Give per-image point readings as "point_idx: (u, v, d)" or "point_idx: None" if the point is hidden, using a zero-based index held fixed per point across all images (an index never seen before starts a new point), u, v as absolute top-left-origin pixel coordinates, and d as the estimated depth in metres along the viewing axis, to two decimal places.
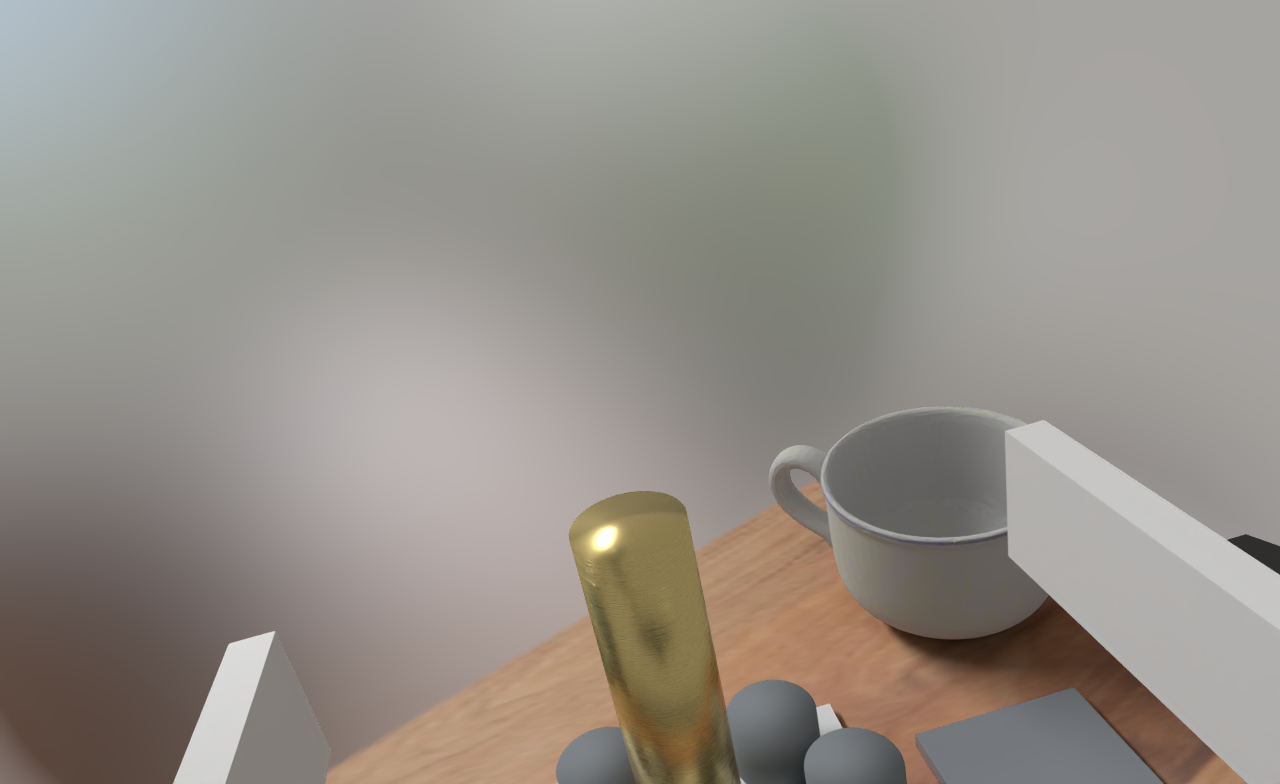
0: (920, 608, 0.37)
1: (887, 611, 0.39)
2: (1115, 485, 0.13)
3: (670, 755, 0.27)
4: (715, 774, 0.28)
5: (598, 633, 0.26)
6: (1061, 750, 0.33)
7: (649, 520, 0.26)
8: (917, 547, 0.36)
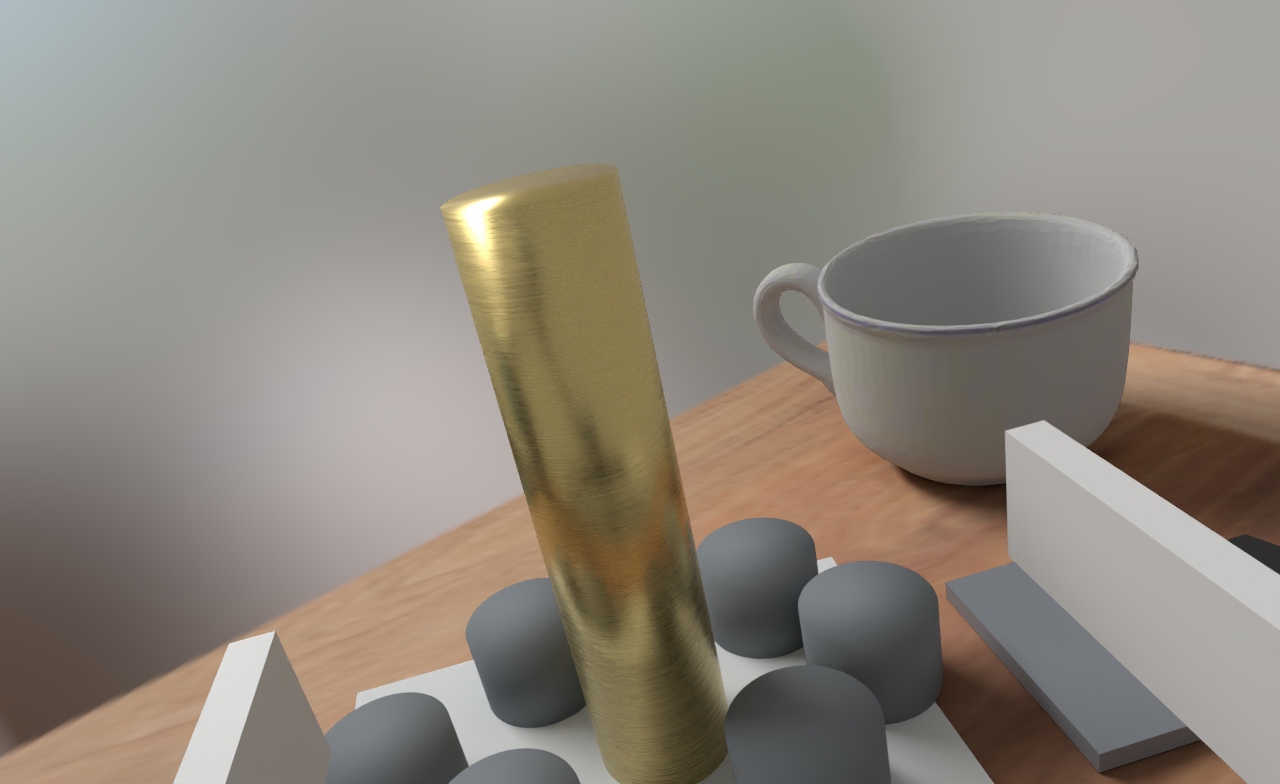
0: (948, 432, 0.29)
1: (903, 445, 0.30)
2: (1115, 485, 0.13)
3: (600, 550, 0.19)
4: (669, 588, 0.20)
5: (489, 359, 0.18)
6: None
7: (561, 180, 0.17)
8: (945, 340, 0.27)
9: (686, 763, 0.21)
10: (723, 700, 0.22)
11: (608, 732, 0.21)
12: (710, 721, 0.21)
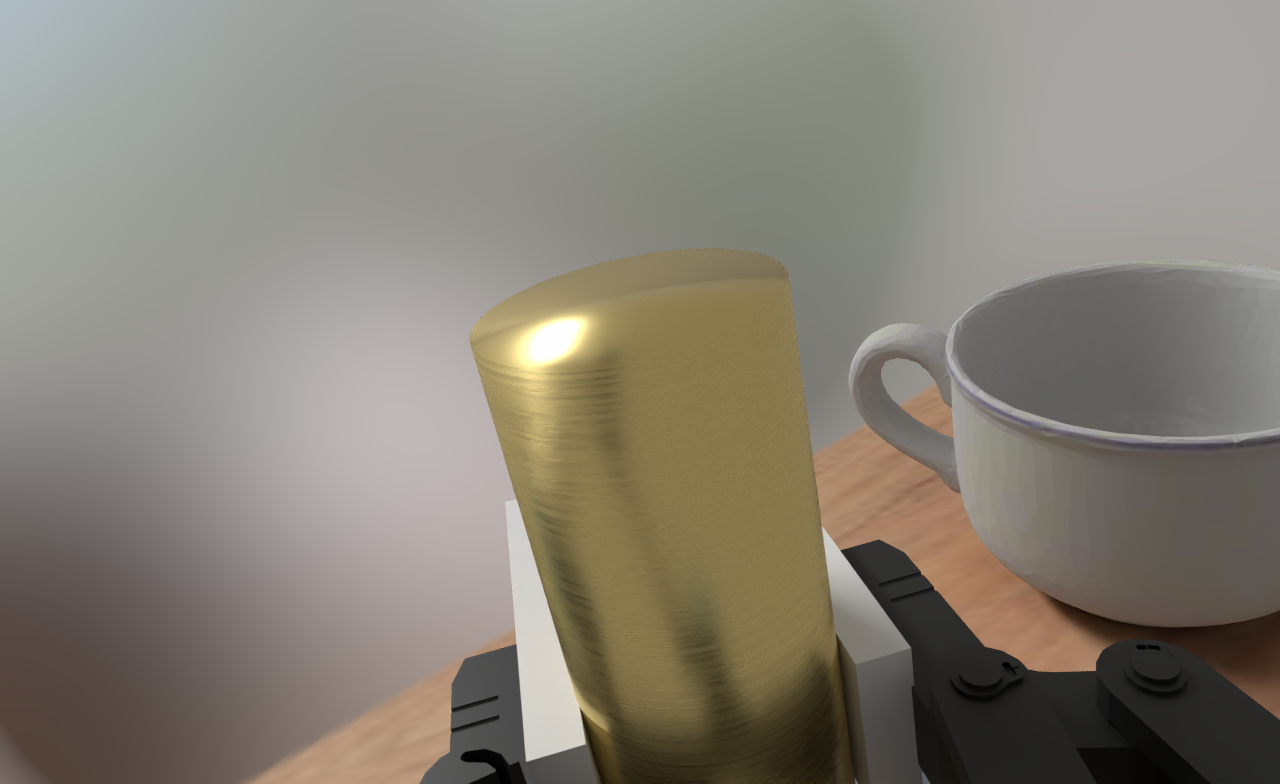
0: (1144, 571, 0.21)
1: (1073, 580, 0.23)
2: None
3: None
4: None
5: (552, 596, 0.10)
6: None
7: (686, 288, 0.10)
8: (1157, 456, 0.20)
9: None
10: None
11: None
12: None
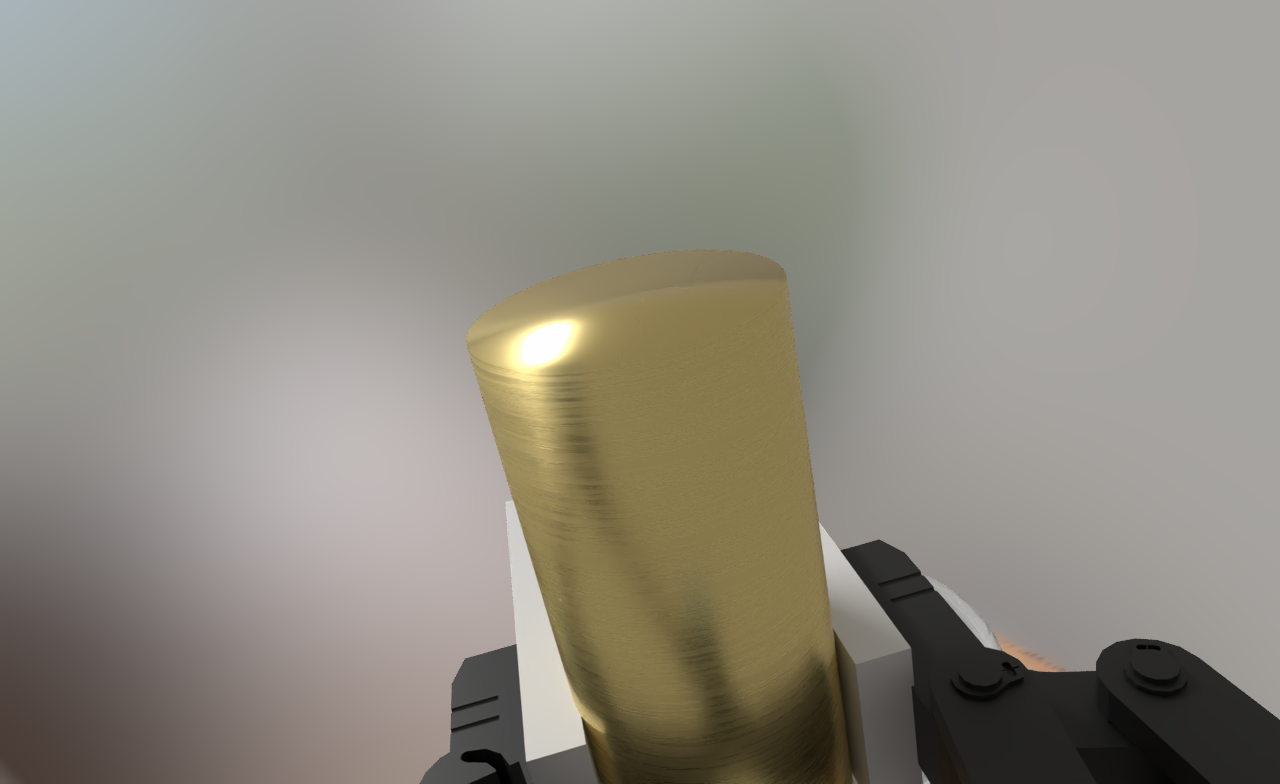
0: None
1: None
2: None
3: None
4: None
5: (549, 598, 0.10)
6: None
7: (683, 289, 0.10)
8: None
9: None
10: None
11: None
12: None
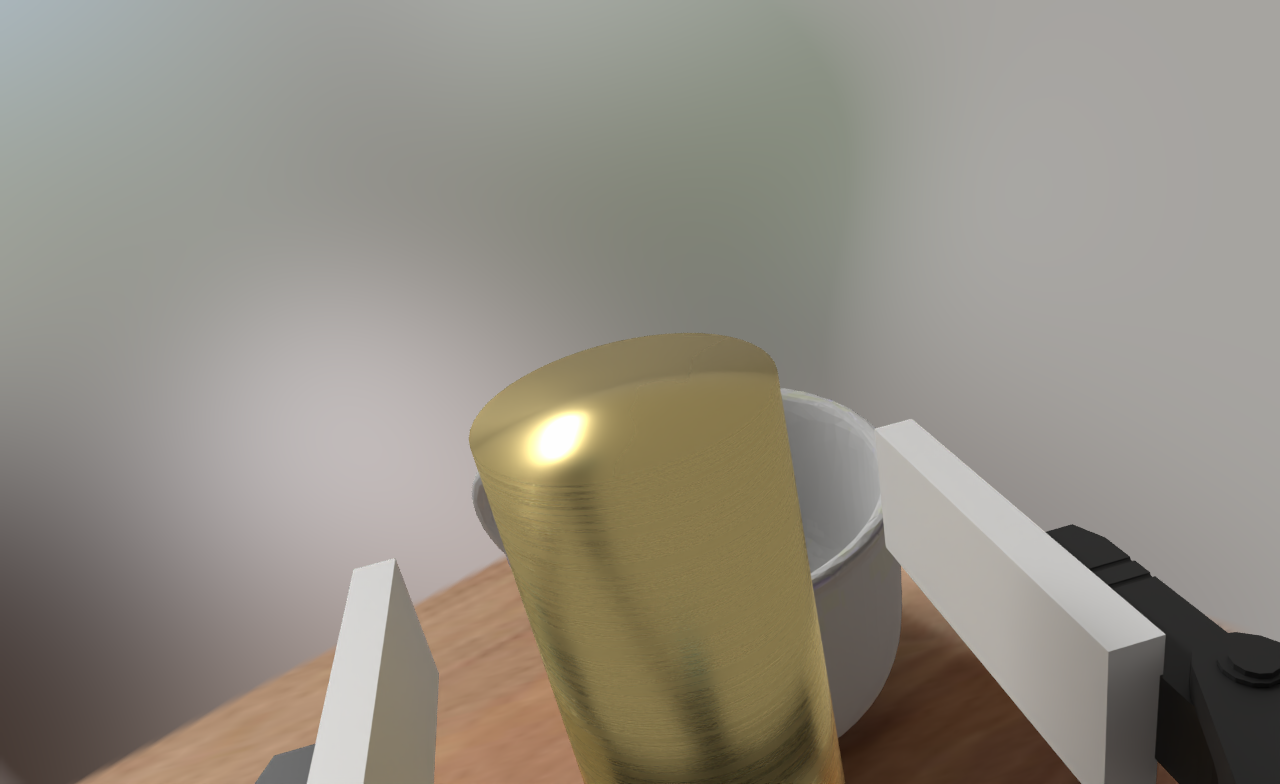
0: None
1: None
2: (958, 479, 0.14)
3: None
4: None
5: (554, 680, 0.10)
6: None
7: (678, 385, 0.10)
8: None
9: None
10: None
11: None
12: None
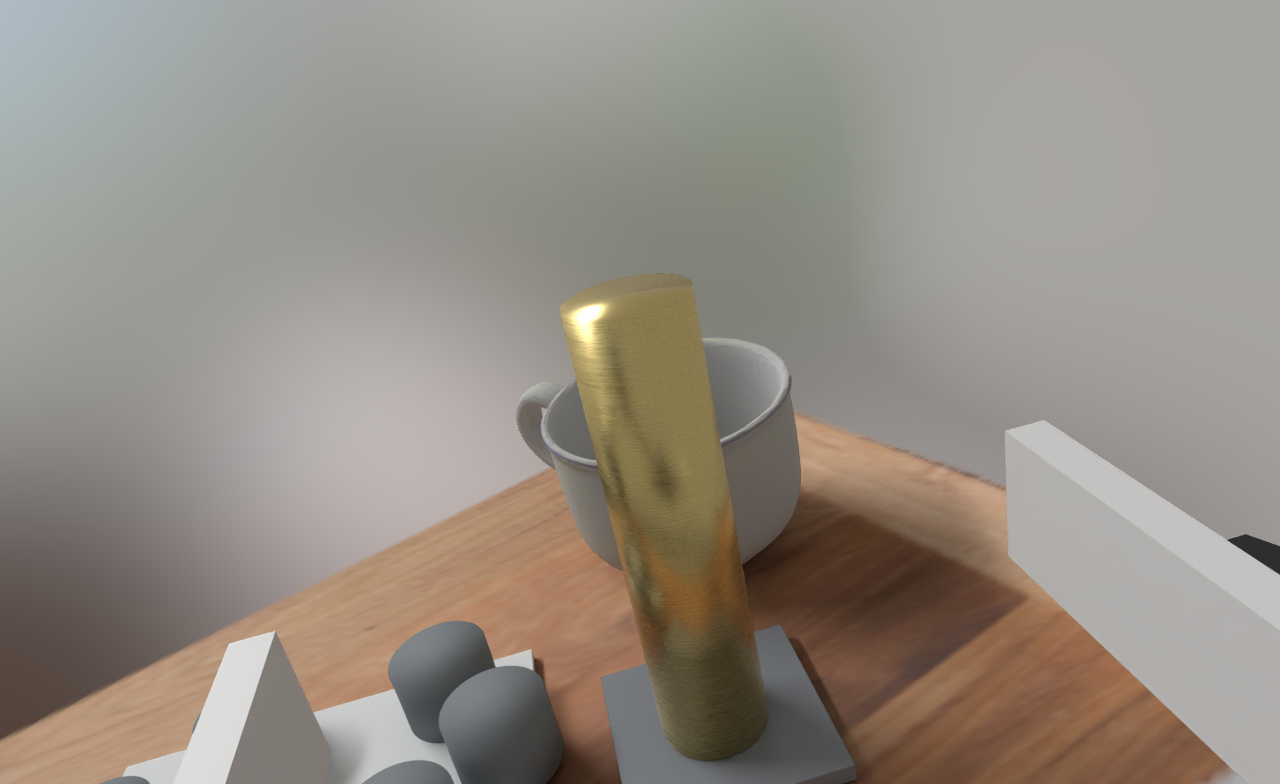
0: None
1: (603, 551, 0.36)
2: (1115, 485, 0.13)
3: (674, 569, 0.24)
4: (723, 598, 0.25)
5: (593, 424, 0.23)
6: None
7: (650, 291, 0.23)
8: None
9: (733, 736, 0.27)
10: (762, 687, 0.28)
11: (671, 711, 0.27)
12: (752, 703, 0.27)
